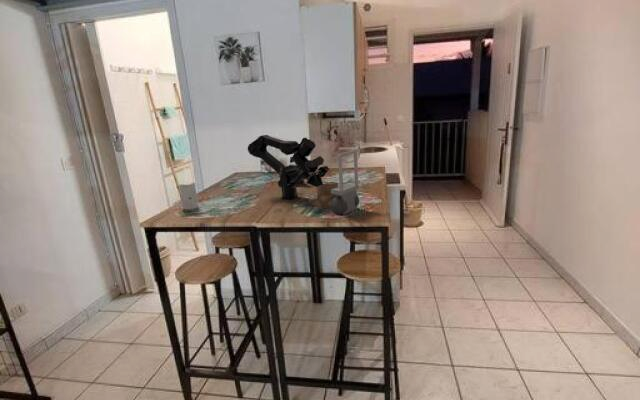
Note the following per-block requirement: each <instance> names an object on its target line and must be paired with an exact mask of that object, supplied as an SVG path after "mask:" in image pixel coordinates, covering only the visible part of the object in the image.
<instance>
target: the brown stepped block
mask: <svg viewBox="0 0 640 400" xmlns="http://www.w3.org/2000/svg"><path fill="white" fill-rule="evenodd" d="M337 187H339V182H338V181H337V182H334V181H329V182H326V183H323V185H320V186H317V187H316V196H315V197H311V198H310V199H309V200H308V204H309V206H314V207H318V208H319V207H320V208H324V209H329V210H332V209H331V201H332V199H333V198H336V197H339V195H336V194H331V190H332V189H334V188H337Z"/></svg>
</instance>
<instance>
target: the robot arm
mask: <svg viewBox="0 0 640 400" xmlns="http://www.w3.org/2000/svg"><path fill="white" fill-rule="evenodd" d="M316 146H317V145H316V143H315V141H313V140H311V139H308V138H307V137H303V138H302V139H301V141H300V142H298V141H295V140H283V139H280V138H276V137H275V136H274V137H273V136H270V135H268V134H263V135H260V136H258V138H257V139H254V140H253V141H252V142H251V143H249V144H248V146H247V152H248V153H249V155H251V156H253V157H255V158H258V159H261V160H262V161H263V162H264V163H265V164H267V165H268V166H269V167H270V168H271V169H273V170H274V171H275V172H276V173H277V175H278V177H279V180H278V181H277V185H278V187H279V188H281V197H280V200H281V199H283V200H293V199H295V198H297V197H298V196H299V195H298V190H297V188H298V187H296V186H295V184H297V185H300V184H302V181H301V180H304V181H305V180H306V184H308V185H311V186H312V187H315V188H317V186H320V185H323V184H324V183H323V179H322V178H324V177H325V176H326V174H327V173H328V172H329V170H330V168H329V167H328V165H324V163H325V159H324V158H323V157H322V155H321V156H319V155H318V156H317V157H315V158H313V159H308V157H309V156H310V155H312V153H313V151H314V150H315V148H316ZM267 147H272V148H275V149H277V150H279V151H280V153H282V154H284V155H286V156H289V155H292V156H290V158H289V164H296V165H297V166H298V168H299V169H298V171H299V172H300V171H301V173H298V172H297V171H296V170H297V169H295V168H294V167H293V166H291V165H289V164H288V165H287V166H286V165H285V164H283V163H282V162H281V161H280V160H279V159H277V158H276V157H275V156H274V155H273V154H272V153H270V152H269V151H268V148H267ZM321 165H322V166H321ZM319 166H320V167H319ZM302 185H303V184H302ZM300 186H301V185H300Z"/></svg>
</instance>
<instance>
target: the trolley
mask: <svg viewBox="0 0 640 400" xmlns="http://www.w3.org/2000/svg"><path fill="white" fill-rule="evenodd" d="M350 155H353V169H354V171H353V172H354V173H353V175H354V183H353V184H352V183H345V184H344V178H343V177H344V175H343V159H342V158H343V157H346V156H350ZM337 162H338V163H337V164H338V179H339V180H338V181H339V182H338V187H337V188H334V189H332V190H331V194H336V195H339V197H336V198H333V199H332V201H331V209H330V210H331V211H332V212H333V214H336V215H342V214H343V216H345V214H346V215H347V213H348V214H349V212H350V213H352V212H354V211H356V210H357V209H358V206H359V204H360V198H359V195H358V194H357V190H358V189H359V168H358V167H359V166H358V165H359V164H358V151H357V149H352V150H349V151H346V152H341V153H338V155H337ZM353 210H354V211H353ZM351 211H352V212H351Z"/></svg>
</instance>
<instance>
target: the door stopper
mask: <svg viewBox="0 0 640 400" xmlns="http://www.w3.org/2000/svg"><path fill="white" fill-rule="evenodd" d="M289 165H291V166H293V167H294V168H295V169H297V170H296V171H297V172H298V173H301V172H302V171H300V172H299V171H298V169H299V168H298V166H297V165H296V164H295V163H289V164H288V166H289ZM301 181H302V184H300V185H297V184H295V186H296V188H298V187H299V186H302V185H304V184H306V182H305V179H304V180H301Z"/></svg>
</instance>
